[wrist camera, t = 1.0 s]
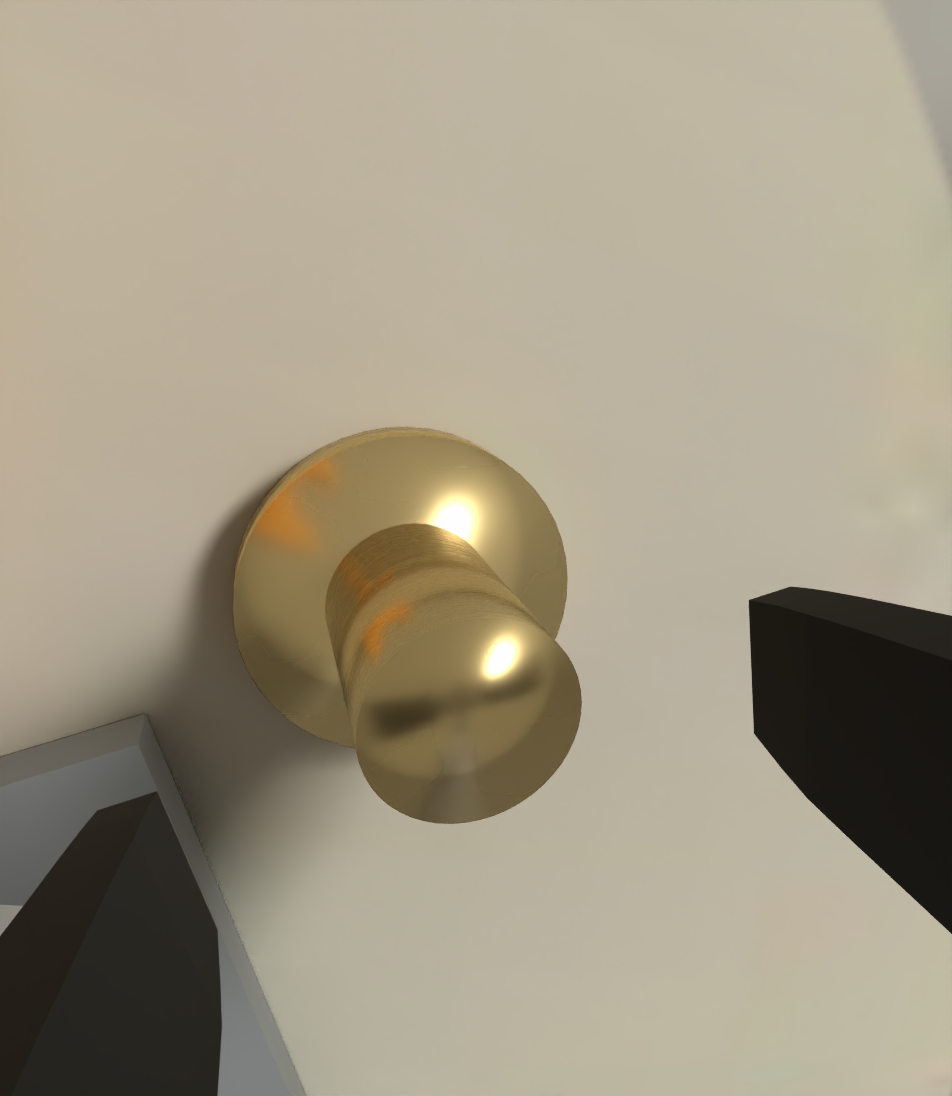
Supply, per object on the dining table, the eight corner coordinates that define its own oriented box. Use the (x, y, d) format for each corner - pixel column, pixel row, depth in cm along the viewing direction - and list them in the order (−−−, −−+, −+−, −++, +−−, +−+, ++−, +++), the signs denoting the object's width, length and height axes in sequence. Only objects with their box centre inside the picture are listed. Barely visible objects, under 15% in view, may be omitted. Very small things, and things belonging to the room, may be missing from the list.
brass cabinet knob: (565, 670, 16) (695, 824, 11) (286, 761, 14) (303, 976, 10) (523, 392, 13) (662, 443, 9) (187, 473, 12) (150, 580, 8)
